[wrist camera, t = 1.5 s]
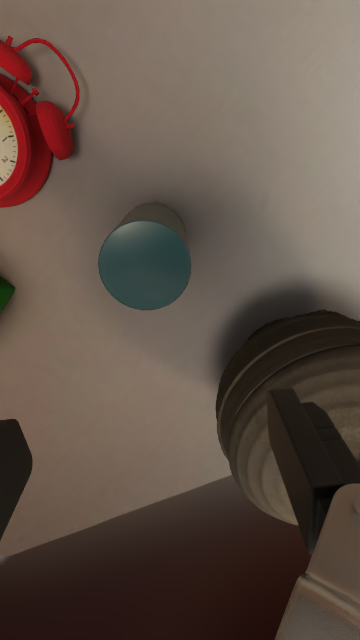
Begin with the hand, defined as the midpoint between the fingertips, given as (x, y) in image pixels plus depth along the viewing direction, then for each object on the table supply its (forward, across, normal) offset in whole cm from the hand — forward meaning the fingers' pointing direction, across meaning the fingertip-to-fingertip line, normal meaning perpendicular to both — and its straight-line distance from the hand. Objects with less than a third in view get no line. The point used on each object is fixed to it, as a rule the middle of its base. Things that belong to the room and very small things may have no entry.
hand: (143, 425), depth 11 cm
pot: (+25, -12, +14) cm, 31 cm away
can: (+25, +1, -1) cm, 25 cm away
